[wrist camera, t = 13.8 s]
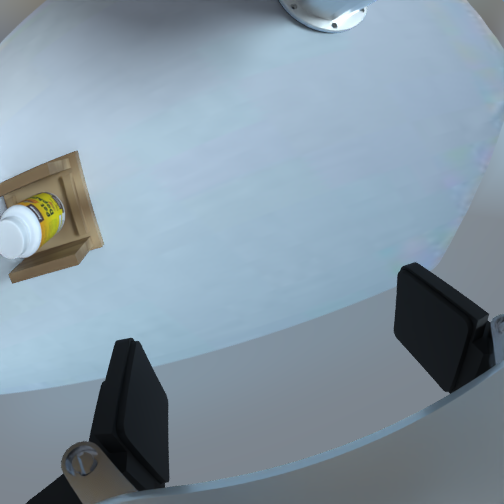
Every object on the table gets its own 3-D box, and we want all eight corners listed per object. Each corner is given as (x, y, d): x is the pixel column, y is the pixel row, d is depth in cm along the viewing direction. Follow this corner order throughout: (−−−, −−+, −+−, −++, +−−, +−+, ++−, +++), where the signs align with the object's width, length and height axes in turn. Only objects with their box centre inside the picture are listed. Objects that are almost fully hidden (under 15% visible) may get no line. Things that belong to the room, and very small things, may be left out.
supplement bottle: (73, 203, 32) (37, 228, 23) (57, 242, 33) (22, 277, 24) (38, 182, 30) (-6, 201, 21) (24, 221, 31) (-18, 250, 22)
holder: (3, 182, 30) (-26, 193, 23) (77, 150, 31) (54, 155, 25) (31, 265, 34) (8, 289, 28) (104, 244, 36) (88, 266, 29)
